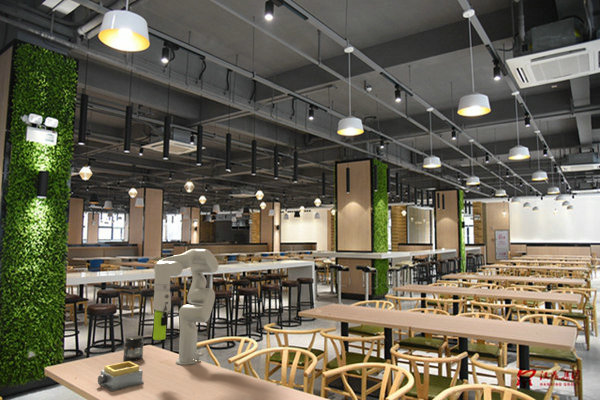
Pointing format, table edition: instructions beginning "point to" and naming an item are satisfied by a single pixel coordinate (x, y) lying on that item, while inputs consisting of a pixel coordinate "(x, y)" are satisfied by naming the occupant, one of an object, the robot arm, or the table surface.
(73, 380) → the table surface
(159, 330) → the soap dispenser
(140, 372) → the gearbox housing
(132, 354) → the supplement container
